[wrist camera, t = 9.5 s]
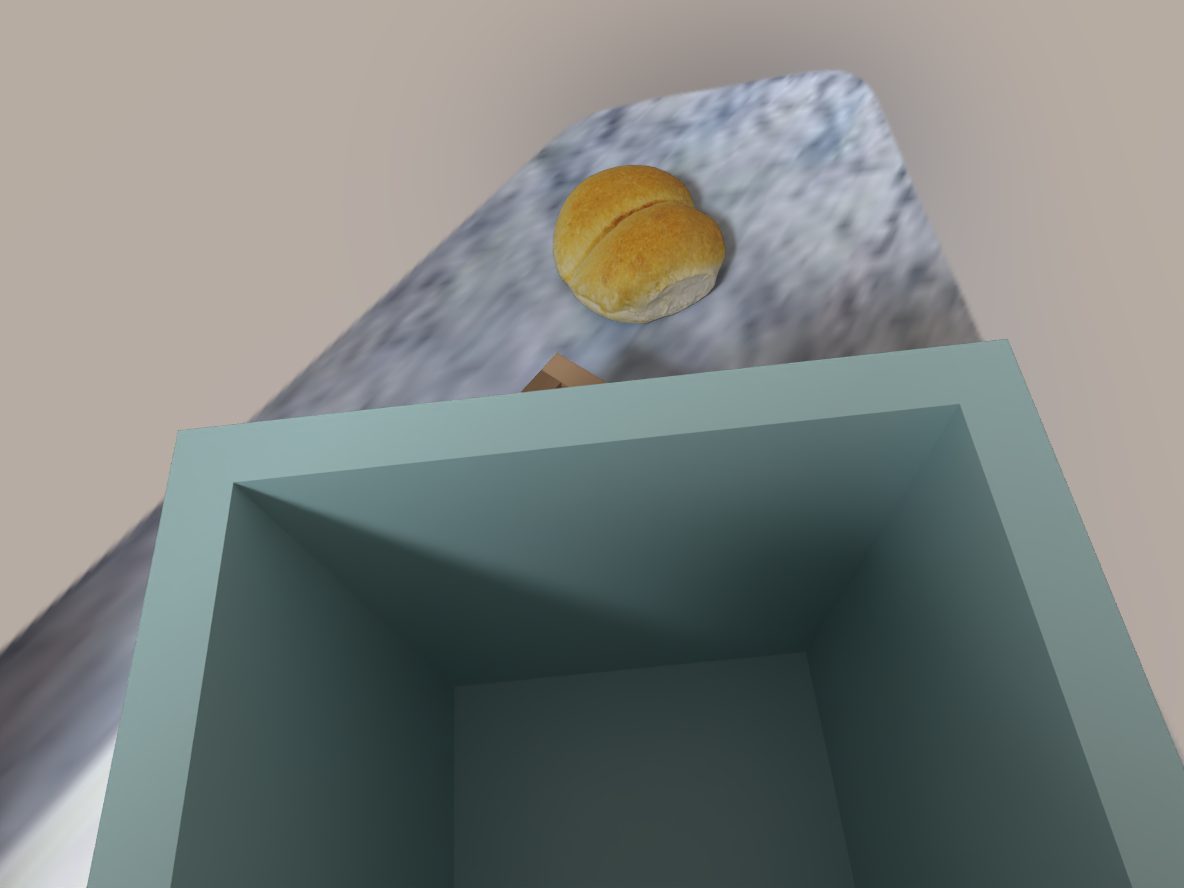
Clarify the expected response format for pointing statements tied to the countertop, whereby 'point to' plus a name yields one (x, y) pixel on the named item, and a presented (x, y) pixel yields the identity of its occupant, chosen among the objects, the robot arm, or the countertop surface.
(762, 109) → the countertop surface
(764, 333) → the countertop surface
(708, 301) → the countertop surface
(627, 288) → the bread roll
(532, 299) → the countertop surface
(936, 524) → the small teal crate
